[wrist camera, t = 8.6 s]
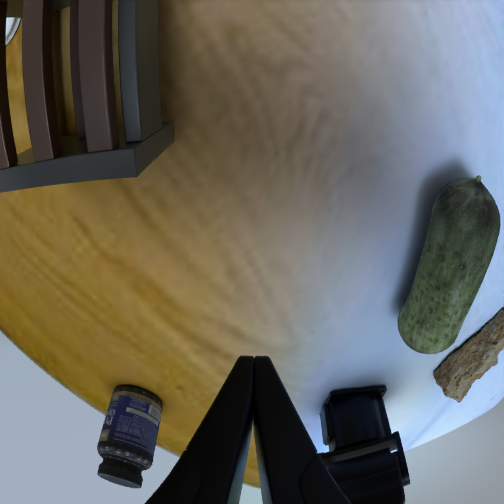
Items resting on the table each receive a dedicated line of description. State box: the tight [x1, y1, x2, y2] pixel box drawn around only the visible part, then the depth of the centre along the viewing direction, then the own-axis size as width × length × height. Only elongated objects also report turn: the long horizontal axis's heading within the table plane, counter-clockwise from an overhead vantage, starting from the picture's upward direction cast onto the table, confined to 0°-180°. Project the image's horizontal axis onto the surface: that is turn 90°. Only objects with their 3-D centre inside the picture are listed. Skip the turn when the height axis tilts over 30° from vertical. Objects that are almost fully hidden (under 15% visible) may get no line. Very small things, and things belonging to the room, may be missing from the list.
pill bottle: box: [97, 386, 163, 488], centre depth 27 cm, size 6×6×11 cm
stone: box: [433, 310, 504, 402], centre depth 25 cm, size 14×7×5 cm, turn 153°
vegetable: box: [398, 176, 500, 354], centre depth 18 cm, size 14×5×5 cm
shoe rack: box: [0, 0, 174, 193], centre depth 11 cm, size 9×11×6 cm
